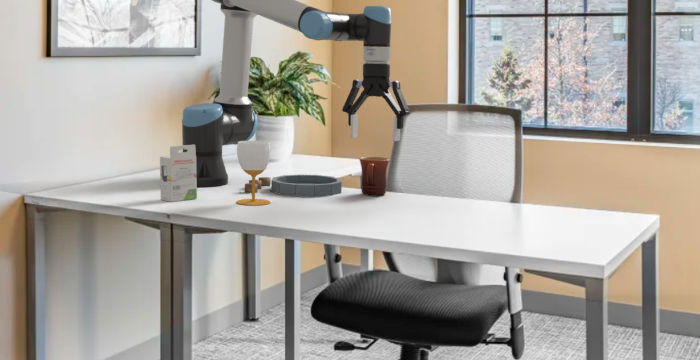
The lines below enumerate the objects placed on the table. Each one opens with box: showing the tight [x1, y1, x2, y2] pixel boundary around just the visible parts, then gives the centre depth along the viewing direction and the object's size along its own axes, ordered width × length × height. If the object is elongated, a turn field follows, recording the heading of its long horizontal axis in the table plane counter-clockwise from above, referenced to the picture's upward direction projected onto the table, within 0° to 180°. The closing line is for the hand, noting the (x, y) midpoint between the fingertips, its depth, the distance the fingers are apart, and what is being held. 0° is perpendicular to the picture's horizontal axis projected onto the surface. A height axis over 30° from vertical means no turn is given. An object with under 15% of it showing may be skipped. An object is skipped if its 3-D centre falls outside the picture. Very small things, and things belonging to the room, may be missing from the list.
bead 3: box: [257, 176, 272, 187], centre depth 263 cm, size 4×4×2 cm
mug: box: [359, 156, 391, 197], centre depth 249 cm, size 12×9×10 cm
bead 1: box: [244, 182, 259, 194], centre depth 250 cm, size 4×4×2 cm
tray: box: [270, 174, 343, 198], centre depth 255 cm, size 20×20×3 cm
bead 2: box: [248, 179, 262, 190], centre depth 257 cm, size 4×4×2 cm
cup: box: [235, 140, 272, 207], centre depth 233 cm, size 9×9×16 cm
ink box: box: [159, 144, 198, 203], centre depth 235 cm, size 9×5×15 cm, turn 134°
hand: (375, 139), depth 248 cm, fingers open, 13 cm apart
